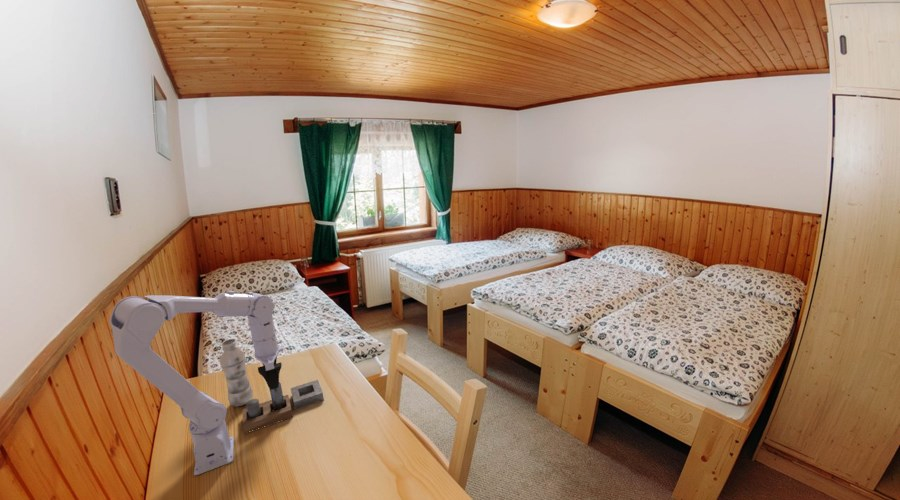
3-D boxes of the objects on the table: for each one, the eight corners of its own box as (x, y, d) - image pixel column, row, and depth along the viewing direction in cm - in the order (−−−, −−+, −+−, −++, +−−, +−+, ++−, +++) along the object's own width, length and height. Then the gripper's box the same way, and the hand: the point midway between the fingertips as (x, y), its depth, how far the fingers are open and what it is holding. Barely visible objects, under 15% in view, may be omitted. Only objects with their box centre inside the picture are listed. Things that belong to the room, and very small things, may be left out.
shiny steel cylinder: (287, 413, 107) (281, 385, 105) (275, 417, 106) (269, 389, 103) (285, 408, 110) (279, 380, 107) (274, 412, 108) (268, 384, 106)
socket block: (323, 400, 112) (322, 392, 111) (295, 409, 108) (293, 402, 108) (319, 386, 119) (317, 379, 118) (291, 395, 115) (290, 388, 115)
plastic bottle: (258, 395, 116) (246, 336, 111) (244, 410, 110) (231, 347, 105) (239, 395, 117) (226, 336, 112) (224, 409, 111) (210, 347, 106)
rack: (292, 417, 105) (289, 398, 104) (244, 434, 100) (240, 414, 98) (289, 401, 112) (286, 384, 111) (244, 416, 107) (240, 398, 105)
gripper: (282, 343, 97) (291, 389, 100) (277, 323, 110) (285, 364, 113) (252, 351, 94) (262, 398, 97) (250, 329, 106) (259, 372, 110)
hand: (273, 381), depth 105 cm, fingers open, 7 cm apart
